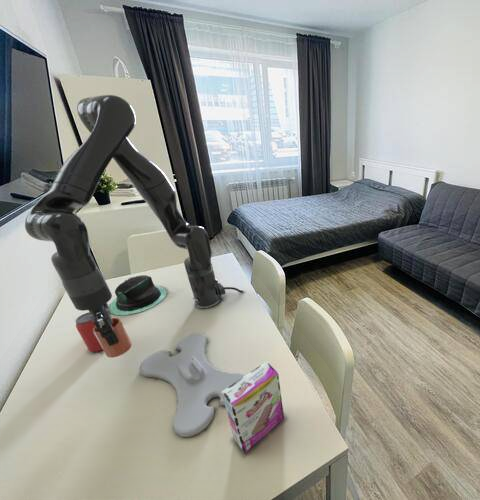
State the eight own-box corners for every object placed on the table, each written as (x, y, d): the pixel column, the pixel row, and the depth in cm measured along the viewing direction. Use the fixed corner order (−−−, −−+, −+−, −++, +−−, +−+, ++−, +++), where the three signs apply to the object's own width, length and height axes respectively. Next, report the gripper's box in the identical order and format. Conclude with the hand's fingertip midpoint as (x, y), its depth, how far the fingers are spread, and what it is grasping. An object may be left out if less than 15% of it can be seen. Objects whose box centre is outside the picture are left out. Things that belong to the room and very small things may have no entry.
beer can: (100, 354, 86) (84, 325, 81) (83, 351, 88) (67, 322, 82) (118, 339, 92) (105, 311, 87) (103, 337, 93) (88, 309, 88)
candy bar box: (245, 456, 59) (231, 407, 52) (233, 439, 62) (219, 391, 55) (286, 418, 66) (278, 371, 59) (274, 405, 69) (266, 359, 62)
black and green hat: (147, 313, 103) (94, 317, 103) (175, 306, 122) (130, 309, 121) (146, 274, 104) (93, 278, 104) (174, 273, 123) (129, 276, 122)
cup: (130, 338, 81) (118, 314, 77) (133, 349, 77) (121, 325, 73) (105, 349, 78) (92, 324, 74) (107, 361, 74) (93, 336, 70)
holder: (183, 446, 61) (177, 433, 59) (137, 366, 81) (131, 354, 79) (255, 389, 74) (252, 376, 72) (199, 332, 94) (196, 321, 92)
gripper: (108, 292, 65) (133, 344, 73) (103, 271, 75) (125, 318, 82) (67, 306, 61) (98, 359, 68) (67, 281, 71) (94, 330, 78)
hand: (112, 337), depth 75 cm, fingers closed on cup, 6 cm apart
